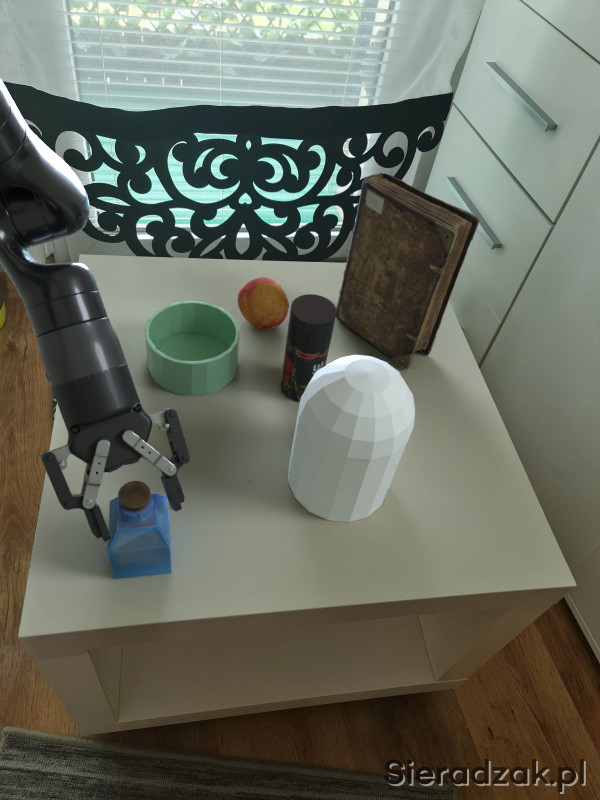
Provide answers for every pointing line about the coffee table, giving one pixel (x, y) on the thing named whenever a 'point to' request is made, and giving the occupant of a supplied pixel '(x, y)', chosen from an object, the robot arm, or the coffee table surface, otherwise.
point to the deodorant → (306, 342)
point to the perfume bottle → (139, 532)
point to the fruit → (263, 303)
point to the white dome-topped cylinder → (349, 437)
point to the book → (402, 266)
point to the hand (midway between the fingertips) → (142, 523)
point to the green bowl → (192, 347)
